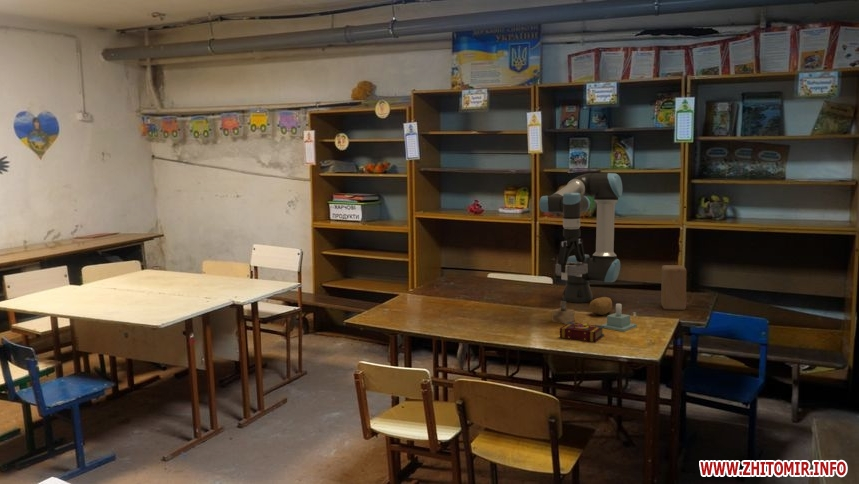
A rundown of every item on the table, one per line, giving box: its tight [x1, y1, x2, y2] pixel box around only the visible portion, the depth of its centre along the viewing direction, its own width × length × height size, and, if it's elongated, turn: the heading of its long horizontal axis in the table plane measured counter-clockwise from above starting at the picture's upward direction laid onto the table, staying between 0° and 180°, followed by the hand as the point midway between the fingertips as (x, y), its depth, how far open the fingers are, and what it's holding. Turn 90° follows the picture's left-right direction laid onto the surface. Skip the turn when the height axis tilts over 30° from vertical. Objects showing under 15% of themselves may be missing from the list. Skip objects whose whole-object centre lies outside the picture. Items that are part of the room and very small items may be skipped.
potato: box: [589, 296, 613, 316], centre depth 306 cm, size 10×14×8 cm
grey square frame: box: [554, 262, 588, 276], centre depth 291 cm, size 10×10×4 cm
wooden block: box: [660, 264, 687, 311], centre depth 315 cm, size 10×10×20 cm
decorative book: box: [559, 321, 605, 343], centre depth 269 cm, size 11×16×5 cm
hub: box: [599, 303, 638, 333], centre depth 282 cm, size 11×11×10 cm
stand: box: [551, 300, 575, 325], centre depth 295 cm, size 7×7×9 cm
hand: (571, 278), depth 291 cm, fingers closed on grey square frame, 10 cm apart
